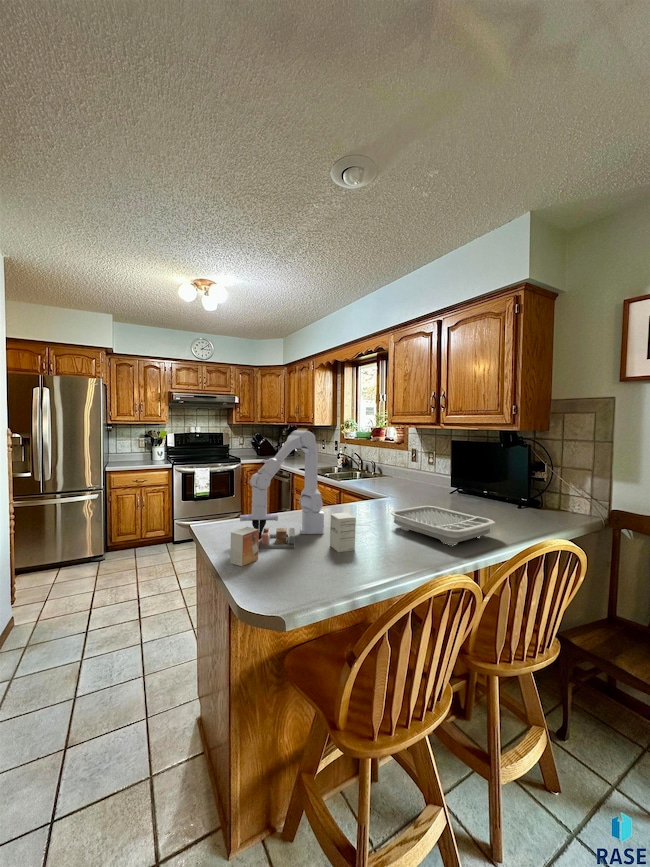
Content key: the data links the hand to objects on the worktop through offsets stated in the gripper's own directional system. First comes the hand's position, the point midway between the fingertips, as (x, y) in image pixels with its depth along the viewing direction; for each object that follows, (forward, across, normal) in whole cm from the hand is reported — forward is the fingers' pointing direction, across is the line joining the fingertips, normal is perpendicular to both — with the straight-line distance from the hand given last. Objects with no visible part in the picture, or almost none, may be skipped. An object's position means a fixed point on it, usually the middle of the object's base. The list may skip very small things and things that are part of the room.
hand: (258, 538), depth 137 cm
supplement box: (+2, -32, +8) cm, 33 cm away
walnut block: (+2, -9, 0) cm, 9 cm away
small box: (+2, +4, +18) cm, 18 cm away
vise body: (+1, -5, 0) cm, 5 cm away
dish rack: (+2, -78, -7) cm, 78 cm away
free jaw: (+1, -3, 0) cm, 3 cm away
